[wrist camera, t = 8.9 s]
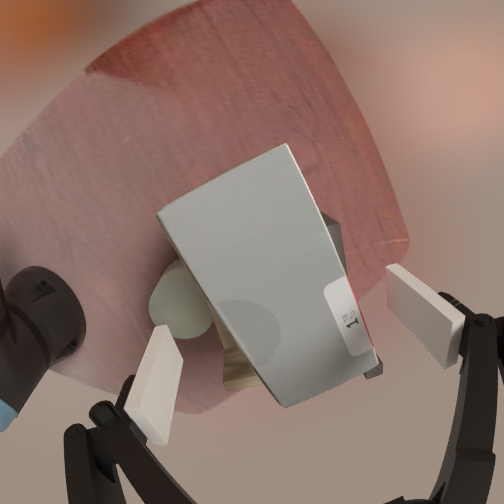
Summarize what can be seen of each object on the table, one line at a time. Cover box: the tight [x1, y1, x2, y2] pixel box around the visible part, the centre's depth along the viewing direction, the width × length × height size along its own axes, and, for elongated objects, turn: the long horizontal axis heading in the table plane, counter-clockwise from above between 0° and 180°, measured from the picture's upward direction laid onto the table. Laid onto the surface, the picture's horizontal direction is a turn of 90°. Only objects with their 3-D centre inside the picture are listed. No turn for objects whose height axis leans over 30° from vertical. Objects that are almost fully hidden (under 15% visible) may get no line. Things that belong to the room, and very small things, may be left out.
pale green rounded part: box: [149, 259, 213, 339], centre depth 33 cm, size 7×7×7 cm
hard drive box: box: [157, 144, 379, 408], centre depth 25 cm, size 16×8×20 cm, turn 27°
